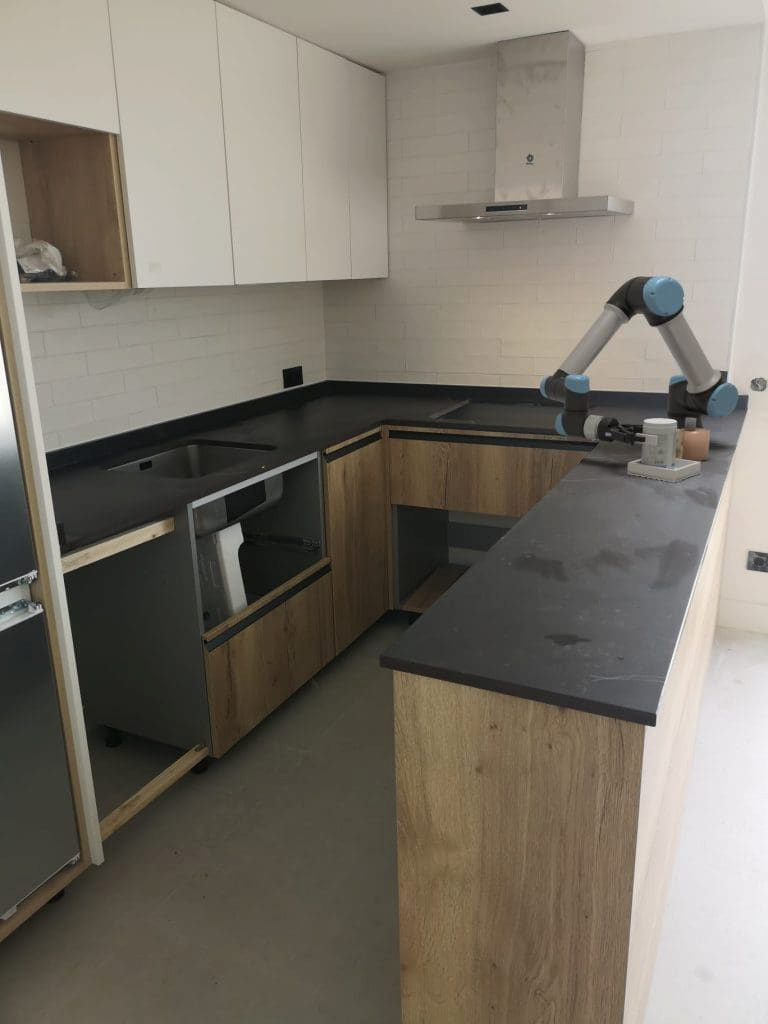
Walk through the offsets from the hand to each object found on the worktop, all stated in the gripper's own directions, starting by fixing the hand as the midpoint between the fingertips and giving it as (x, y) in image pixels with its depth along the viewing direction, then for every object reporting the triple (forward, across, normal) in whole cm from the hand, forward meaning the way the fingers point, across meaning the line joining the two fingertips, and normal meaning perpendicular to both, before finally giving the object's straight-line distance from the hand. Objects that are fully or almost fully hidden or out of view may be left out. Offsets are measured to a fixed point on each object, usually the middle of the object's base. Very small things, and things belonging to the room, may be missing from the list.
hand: (667, 437), depth 234 cm
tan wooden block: (-6, -14, -11) cm, 19 cm away
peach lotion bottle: (-4, -26, -11) cm, 28 cm away
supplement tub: (-2, +1, -10) cm, 10 cm away
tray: (0, 0, -11) cm, 11 cm away
